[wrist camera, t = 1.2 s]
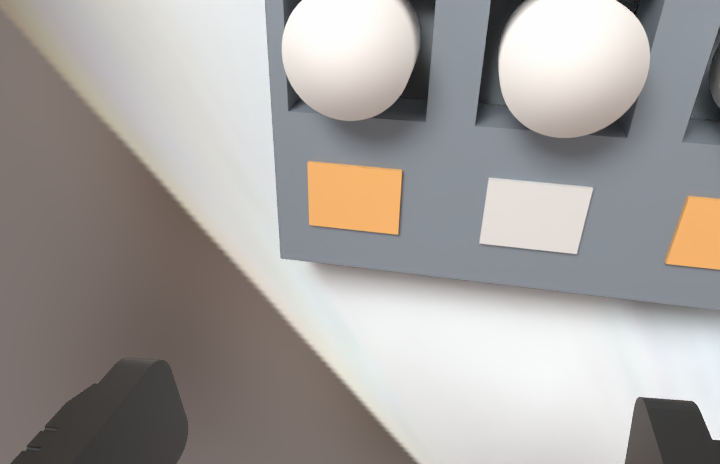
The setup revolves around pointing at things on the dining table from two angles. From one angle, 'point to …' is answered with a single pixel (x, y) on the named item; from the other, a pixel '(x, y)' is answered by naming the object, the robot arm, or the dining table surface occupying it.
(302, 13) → the button
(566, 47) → the middle button
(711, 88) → the button
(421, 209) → the button board
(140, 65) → the dining table surface
